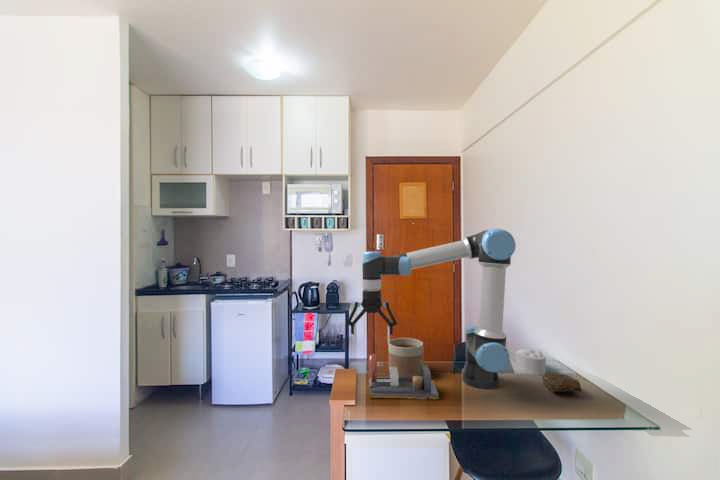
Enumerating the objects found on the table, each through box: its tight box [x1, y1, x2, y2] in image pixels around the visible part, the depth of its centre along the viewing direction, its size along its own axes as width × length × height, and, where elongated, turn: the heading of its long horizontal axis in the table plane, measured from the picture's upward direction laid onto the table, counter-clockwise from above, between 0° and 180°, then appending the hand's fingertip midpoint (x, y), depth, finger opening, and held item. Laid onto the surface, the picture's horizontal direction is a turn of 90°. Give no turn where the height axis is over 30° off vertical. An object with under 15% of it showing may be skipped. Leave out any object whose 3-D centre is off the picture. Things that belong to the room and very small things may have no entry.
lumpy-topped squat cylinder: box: [515, 348, 547, 376], centre depth 155 cm, size 10×13×9 cm
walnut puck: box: [412, 376, 423, 389], centre depth 132 cm, size 4×4×4 cm
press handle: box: [368, 353, 398, 388], centre depth 133 cm, size 12×8×12 cm
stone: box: [541, 372, 582, 393], centre depth 133 cm, size 10×14×6 cm
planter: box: [387, 337, 424, 379], centre depth 153 cm, size 16×16×14 cm
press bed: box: [369, 364, 440, 399], centre depth 133 cm, size 26×13×9 cm, turn 87°
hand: (371, 342), depth 134 cm, fingers open, 13 cm apart
